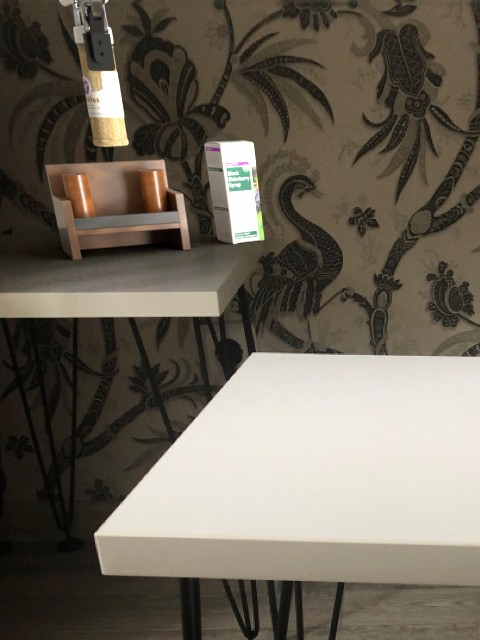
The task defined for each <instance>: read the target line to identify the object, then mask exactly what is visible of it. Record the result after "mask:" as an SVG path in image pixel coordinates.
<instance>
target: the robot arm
mask: <svg viewBox="0 0 480 640" xmlns="http://www.w3.org/2000/svg"><path fill="white" fill-rule="evenodd" d="M58 1H59V3H60V4H61V5H62V6H63V7H69V6H71V5H72V12H73V19H74V25H75V26H84V31H85V33H82V34H83V40H84V46H85V51H86V57H87V63H88V68H89V70H91V71H114V70H115V69H116V70H117V66H116V67H115V64H116V60H115V61H114V58H115V54H114V55H113V52H114V48H113V49H112V46H113V44H112V42H111V36H110V34H108V33H109V28H108V27H109V24H108V18H107V13H106V8H105V4H107V3H108V2H109V0H58Z"/></svg>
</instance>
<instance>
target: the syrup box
mask: <svg viewBox="0 0 480 640" xmlns="http://www.w3.org/2000/svg"><path fill="white" fill-rule="evenodd" d="M203 146H204V153H205V160H206V168H207V174H208V181H209V189H210V195H211V202H212V210H213V216H214V224H215V231H216V237H217V240H218V241H220V242H222V243H227V244H231V245H237V244H243V243H252V242H259V241H261V242H262V241H264V240H265V233H264V232H265V231H264V224H263V214H262V208H261V207H262V206H261V198H260V189H259V180H258V171H257V162H256V154H255V146H254V142H253V141H250V140H221V141H209V142H204V144H203Z"/></svg>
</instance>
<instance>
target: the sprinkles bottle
mask: <svg viewBox="0 0 480 640" xmlns="http://www.w3.org/2000/svg"><path fill="white" fill-rule="evenodd" d="M108 28H109V33H108V34H110V36H111V42H112V49H113V50H114V46H113V44H114V37H113V36H114V35H113V32H112V28H111V26H108ZM72 29H73V37H74V43H75V44H76V45H77V46H76V47H77V50H78V56H79V61H80V67H81V73H82V82H83V87H84V93H85V99H86V106H87V112H88V116H89V121H90V122H89V123H90V126H91V132H92V143H93V145H94V146H95V147H100V148H101V147H102V148H112V147H114V148H115V147H126V146H128V145H129V143H130V142H129V141H130V140H129V139H128V135H127V130H126V123H125V111H124V106H123V105H124V104H123V99H122V92H121V86H120V80H119V75H118V71H117V65H116V63H115V67H116V69H115V70H114V71H91V70H89V68H88V63H87V57H86V51H85V46H84V40H83V34H82V33H85V31H84V26H76V25H75V26H73V28H72ZM113 55H114V56H115V53H114V51H113ZM114 61H115V62H116V58H115V57H114Z"/></svg>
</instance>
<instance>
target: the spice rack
mask: <svg viewBox="0 0 480 640" xmlns="http://www.w3.org/2000/svg"><path fill="white" fill-rule="evenodd" d="M44 166H45V172H46V176H47V180H48V186H49V190H50V195H51V200H52V204H53V209H54V214H55V220H56V223H57V229H58V233H59V238H60V243H61V248H62V251H63V252H64V253H66V254H67V255H68V256H69V257H70V258H71V259H72V260H73V261H78V260H82V259H83V258H82V253H81V251H83V250H94V249H106V248H116V247H117V248H119V247H129V246H141V245H153V244H163V243H164V244H165V243H170V244H171V245H173V246H175V247H177V248H179V249H181V250H182V251H189V250H192V248H191V247H192V246H191V239H190V232H189V225H188V219H187V212H186V205H185V199H184V198H185V197H184V193H182V192H181V191H178V190H174V189H172V188H169V182H168V176H167V170H166V162H165V160H164V159H146V160H143V159H142V160H123V161H121V160H120V161H104V162H103V161H101V162H80V163H61V164H59V163H57V164H45V165H44Z"/></svg>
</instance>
